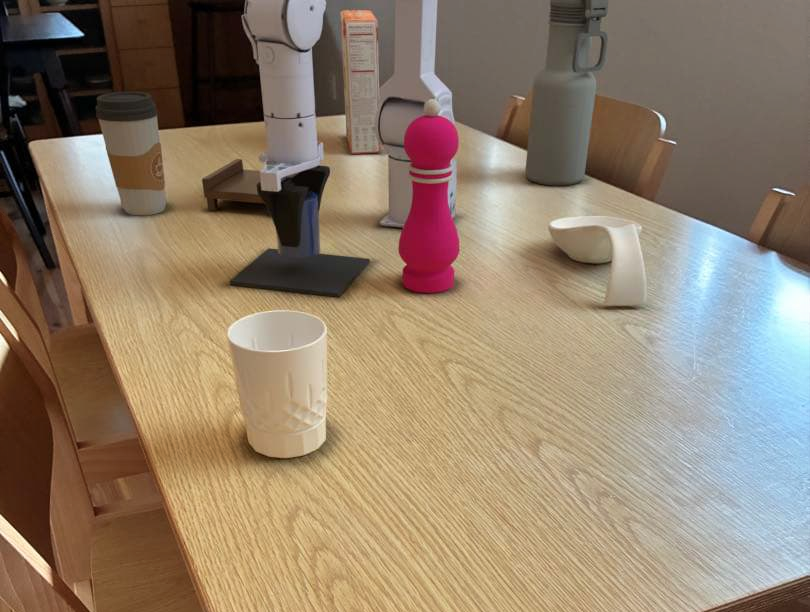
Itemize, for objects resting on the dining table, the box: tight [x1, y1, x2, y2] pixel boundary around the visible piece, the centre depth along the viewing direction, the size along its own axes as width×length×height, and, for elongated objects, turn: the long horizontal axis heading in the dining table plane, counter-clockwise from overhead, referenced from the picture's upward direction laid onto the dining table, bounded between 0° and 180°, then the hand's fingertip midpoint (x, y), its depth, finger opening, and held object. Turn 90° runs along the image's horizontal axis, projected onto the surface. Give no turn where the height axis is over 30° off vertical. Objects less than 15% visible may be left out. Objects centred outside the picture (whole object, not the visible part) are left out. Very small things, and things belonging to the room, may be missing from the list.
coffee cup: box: [95, 91, 167, 216], centre depth 116 cm, size 8×8×15 cm
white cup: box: [226, 309, 329, 459], centre depth 67 cm, size 8×8×10 cm
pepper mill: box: [398, 99, 460, 294], centre depth 92 cm, size 7×7×20 cm
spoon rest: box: [547, 215, 647, 307], centre depth 99 cm, size 24×12×7 cm, turn 3°
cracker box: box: [339, 9, 382, 155], centre depth 146 cm, size 14×6×21 cm, turn 6°
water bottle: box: [524, 0, 609, 187], centre depth 126 cm, size 10×10×28 cm
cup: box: [275, 191, 322, 259], centre depth 97 cm, size 5×5×7 cm
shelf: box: [201, 158, 265, 212], centre depth 122 cm, size 12×12×4 cm
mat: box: [229, 248, 371, 298], centre depth 100 cm, size 14×12×1 cm
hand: (299, 238), depth 98 cm, fingers closed on cup, 5 cm apart
